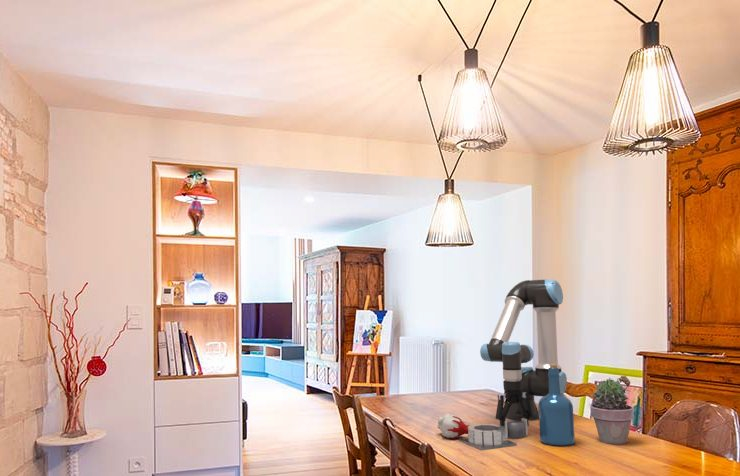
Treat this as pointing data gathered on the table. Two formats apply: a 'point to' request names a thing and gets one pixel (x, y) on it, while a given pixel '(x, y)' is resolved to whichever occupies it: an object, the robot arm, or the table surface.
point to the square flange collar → (487, 437)
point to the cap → (515, 429)
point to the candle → (452, 426)
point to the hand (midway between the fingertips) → (515, 436)
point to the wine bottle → (556, 414)
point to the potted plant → (612, 411)
